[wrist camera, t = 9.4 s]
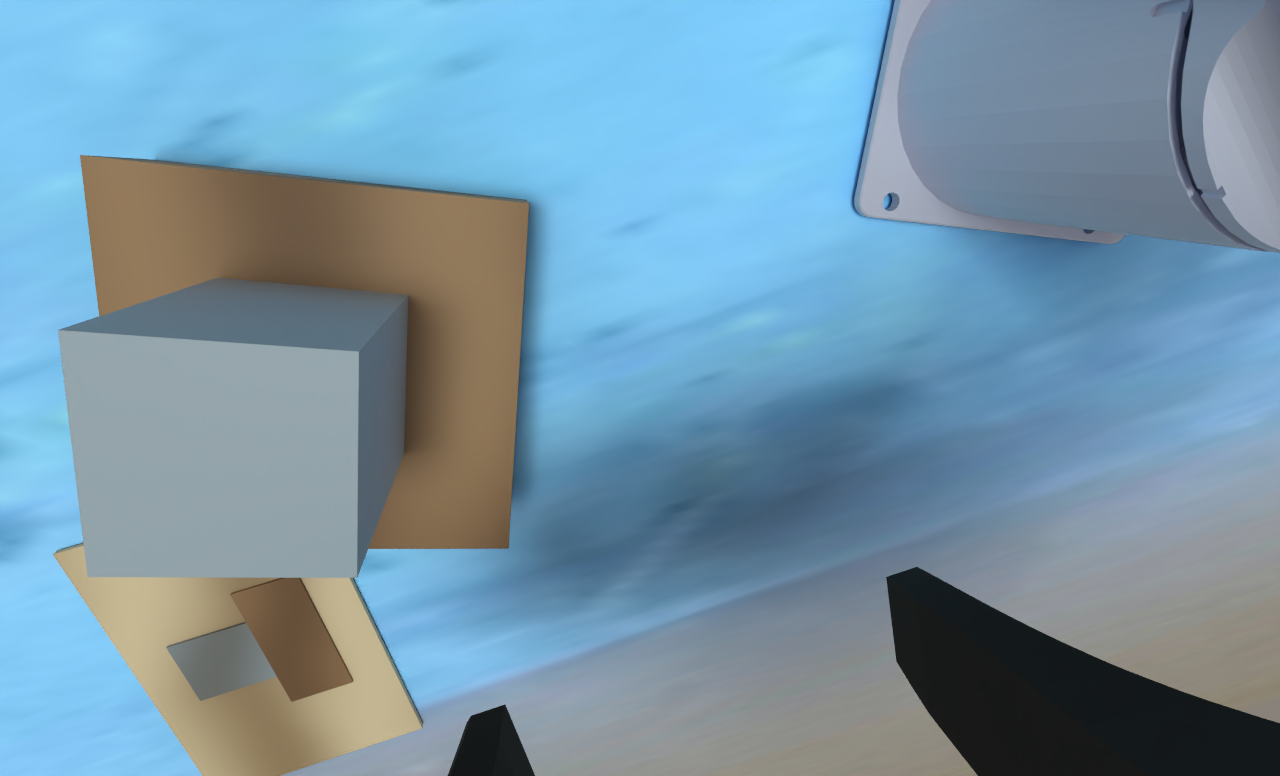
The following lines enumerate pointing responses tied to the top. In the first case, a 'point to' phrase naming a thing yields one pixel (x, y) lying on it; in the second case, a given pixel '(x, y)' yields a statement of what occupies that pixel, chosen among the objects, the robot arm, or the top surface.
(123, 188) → the walnut slab
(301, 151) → the top surface
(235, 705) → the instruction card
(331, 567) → the gray brick
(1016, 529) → the top surface
